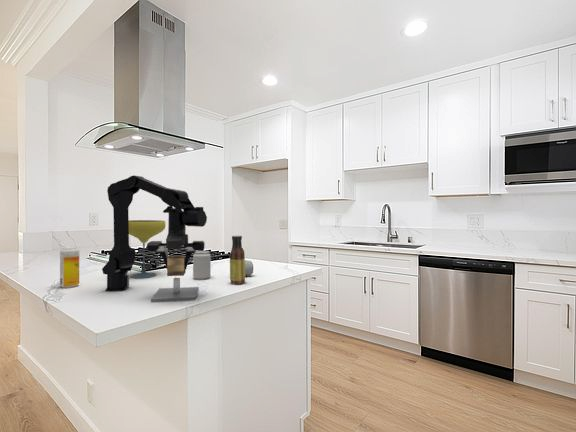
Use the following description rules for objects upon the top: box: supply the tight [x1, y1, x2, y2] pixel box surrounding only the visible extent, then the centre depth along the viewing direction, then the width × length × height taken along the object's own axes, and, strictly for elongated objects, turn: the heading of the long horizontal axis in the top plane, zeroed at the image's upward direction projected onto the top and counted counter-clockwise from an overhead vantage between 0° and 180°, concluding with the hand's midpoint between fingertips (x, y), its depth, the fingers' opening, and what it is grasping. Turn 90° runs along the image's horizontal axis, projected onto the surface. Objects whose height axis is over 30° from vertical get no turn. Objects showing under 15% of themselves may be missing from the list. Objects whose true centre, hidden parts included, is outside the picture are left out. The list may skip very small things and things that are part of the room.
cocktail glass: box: [129, 219, 166, 279], centre depth 139 cm, size 18×18×25 cm
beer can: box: [59, 246, 80, 289], centre depth 119 cm, size 6×6×15 cm
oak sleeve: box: [166, 255, 187, 277], centre depth 108 cm, size 5×5×6 cm
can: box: [192, 250, 212, 281], centre depth 136 cm, size 8×8×12 cm
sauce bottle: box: [229, 234, 246, 285], centre depth 127 cm, size 6×6×20 cm
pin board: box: [150, 277, 200, 303], centre depth 108 cm, size 14×14×6 cm
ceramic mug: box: [245, 259, 254, 277], centre depth 143 cm, size 11×8×8 cm
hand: (176, 270), depth 108 cm, fingers closed on oak sleeve, 5 cm apart
